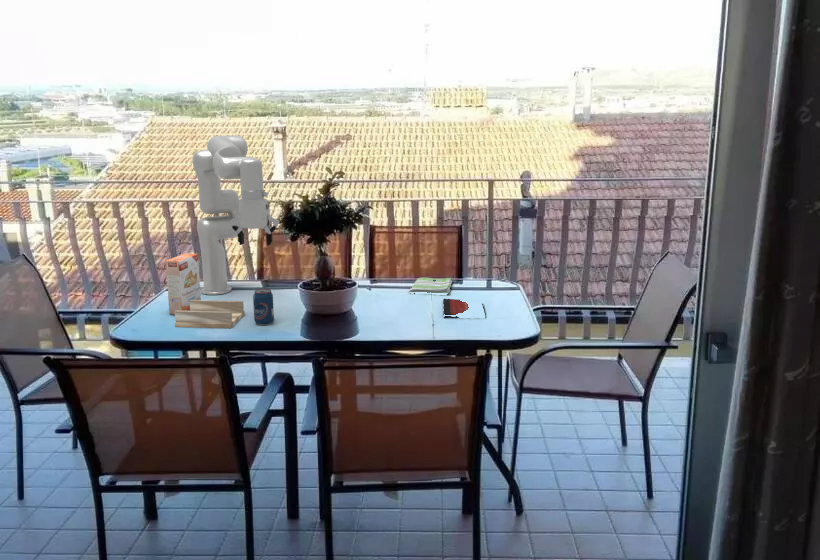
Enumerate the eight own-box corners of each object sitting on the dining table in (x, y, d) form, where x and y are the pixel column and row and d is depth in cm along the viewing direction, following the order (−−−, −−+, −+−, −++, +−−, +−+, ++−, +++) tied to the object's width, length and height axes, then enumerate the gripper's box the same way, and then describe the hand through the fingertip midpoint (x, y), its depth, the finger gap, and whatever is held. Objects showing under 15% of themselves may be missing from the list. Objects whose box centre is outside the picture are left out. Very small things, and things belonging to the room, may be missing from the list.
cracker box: (183, 316, 241) (179, 261, 236) (169, 315, 242) (163, 260, 237) (202, 305, 254) (198, 253, 249) (188, 304, 256) (184, 252, 250)
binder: (443, 313, 240) (443, 297, 260) (442, 319, 240) (442, 303, 261) (486, 316, 239) (483, 300, 259) (486, 322, 240) (482, 305, 260)
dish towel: (407, 295, 272) (407, 287, 271) (415, 281, 294) (415, 274, 293) (448, 297, 269) (449, 289, 269) (453, 283, 291) (453, 275, 291)
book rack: (192, 313, 244) (191, 299, 243) (244, 314, 243) (243, 300, 242) (175, 327, 229) (173, 312, 227) (230, 328, 228) (229, 313, 226)
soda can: (251, 325, 231) (249, 292, 228) (258, 319, 238) (256, 287, 235) (270, 326, 230) (268, 293, 227) (276, 320, 237) (275, 288, 234)
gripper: (280, 194, 225) (282, 242, 229) (231, 193, 226) (234, 242, 231) (274, 197, 218) (276, 247, 222) (224, 196, 219) (227, 246, 223)
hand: (255, 244), depth 226 cm, fingers open, 9 cm apart
